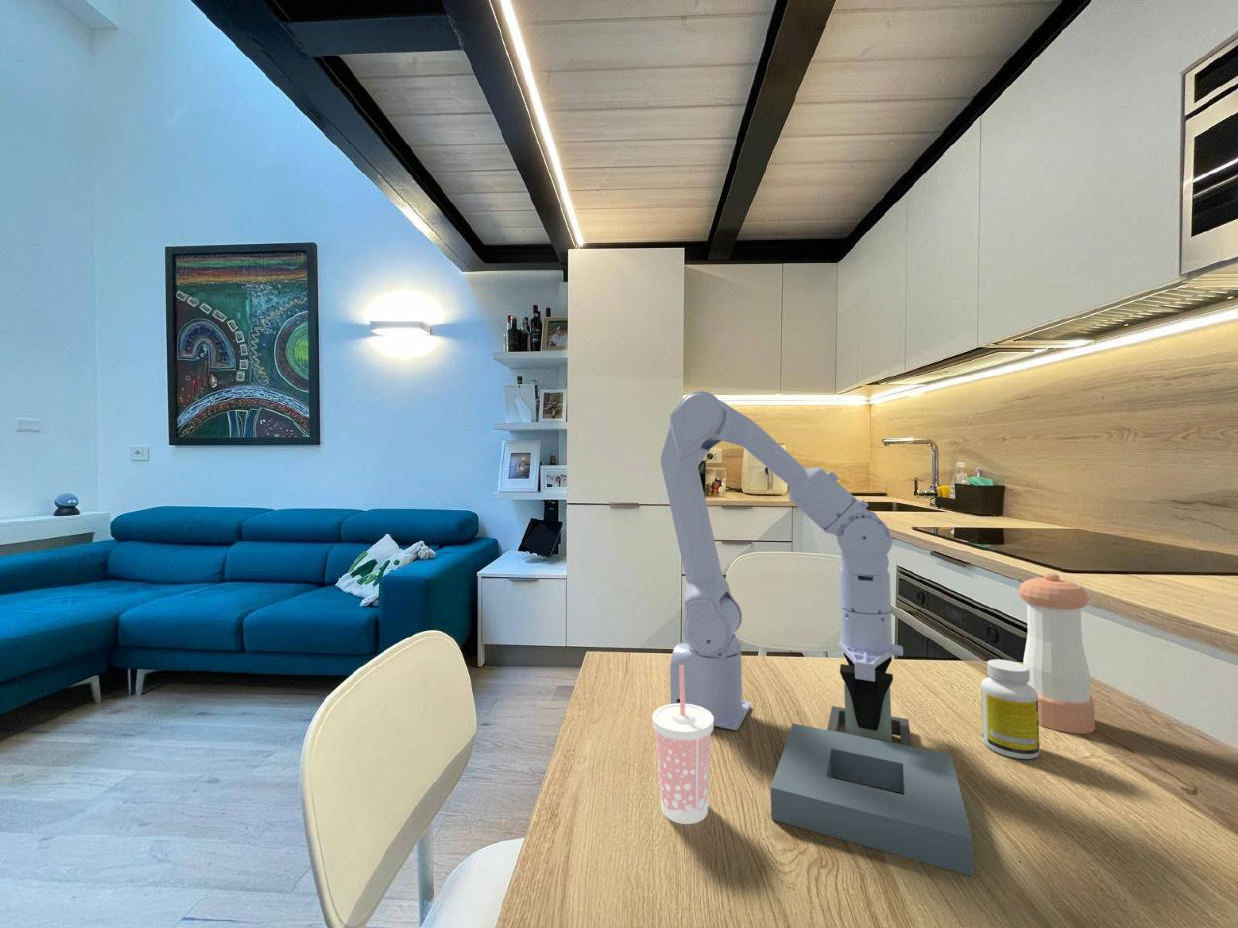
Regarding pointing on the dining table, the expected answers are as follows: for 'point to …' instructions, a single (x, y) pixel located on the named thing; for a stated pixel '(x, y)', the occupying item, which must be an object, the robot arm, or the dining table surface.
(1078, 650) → the pepper shaker
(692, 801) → the beverage cup
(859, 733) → the plug
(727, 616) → the robot arm
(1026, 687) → the supplement bottle
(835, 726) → the grey rectangular frame
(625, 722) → the dining table surface
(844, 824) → the port block
